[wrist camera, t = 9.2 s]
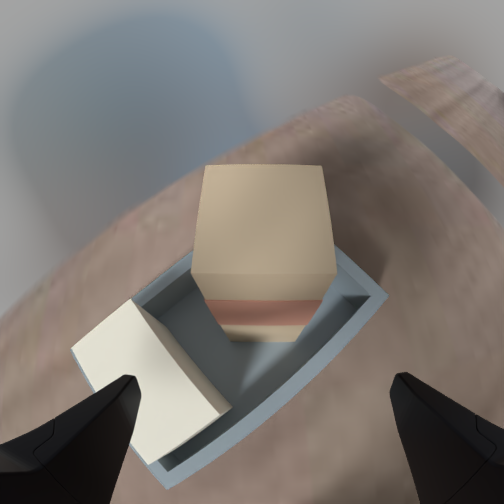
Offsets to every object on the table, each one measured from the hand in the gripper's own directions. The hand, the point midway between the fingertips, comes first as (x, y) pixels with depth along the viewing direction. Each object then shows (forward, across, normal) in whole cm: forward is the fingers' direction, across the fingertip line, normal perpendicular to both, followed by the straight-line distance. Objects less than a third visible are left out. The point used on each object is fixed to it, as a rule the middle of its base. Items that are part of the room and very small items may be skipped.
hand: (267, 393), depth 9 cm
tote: (+12, +3, +6) cm, 13 cm away
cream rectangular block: (+9, +7, +8) cm, 14 cm away
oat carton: (+13, 0, +4) cm, 13 cm away
